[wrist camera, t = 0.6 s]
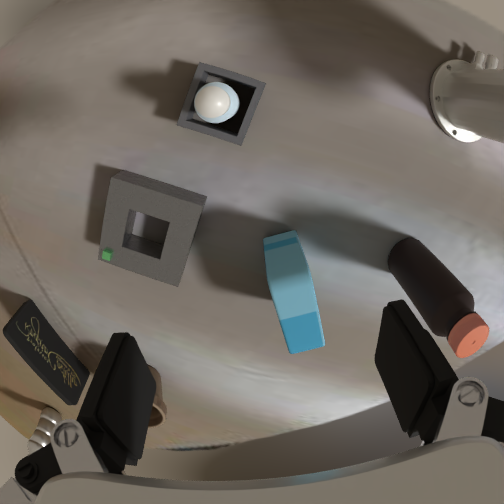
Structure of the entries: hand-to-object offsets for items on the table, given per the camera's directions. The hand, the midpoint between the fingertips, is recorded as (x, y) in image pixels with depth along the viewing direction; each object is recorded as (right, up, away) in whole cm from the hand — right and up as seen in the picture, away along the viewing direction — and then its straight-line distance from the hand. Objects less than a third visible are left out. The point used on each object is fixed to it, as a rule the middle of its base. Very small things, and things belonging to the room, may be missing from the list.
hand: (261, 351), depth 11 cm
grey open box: (-4, +21, +23) cm, 31 cm away
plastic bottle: (-59, -43, +55) cm, 92 cm away
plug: (-4, +21, +23) cm, 31 cm away
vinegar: (+24, +3, +33) cm, 41 cm away
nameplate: (-40, -14, +41) cm, 59 cm away
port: (-14, +8, +30) cm, 34 cm away
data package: (+5, +2, +33) cm, 34 cm away
